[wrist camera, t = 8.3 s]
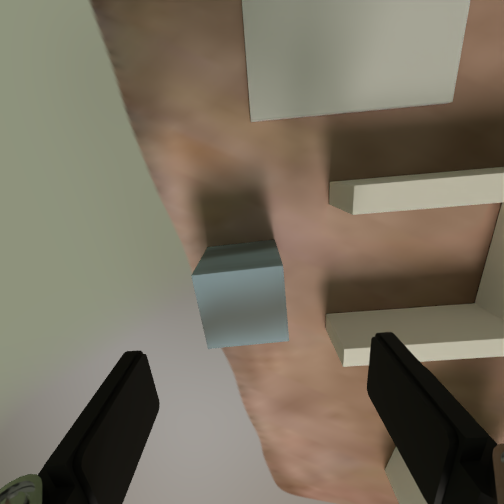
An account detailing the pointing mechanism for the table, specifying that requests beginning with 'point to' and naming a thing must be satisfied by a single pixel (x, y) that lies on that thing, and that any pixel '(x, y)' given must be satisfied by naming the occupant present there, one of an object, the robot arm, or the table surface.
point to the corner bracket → (403, 481)
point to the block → (241, 294)
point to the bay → (434, 317)
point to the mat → (350, 55)
